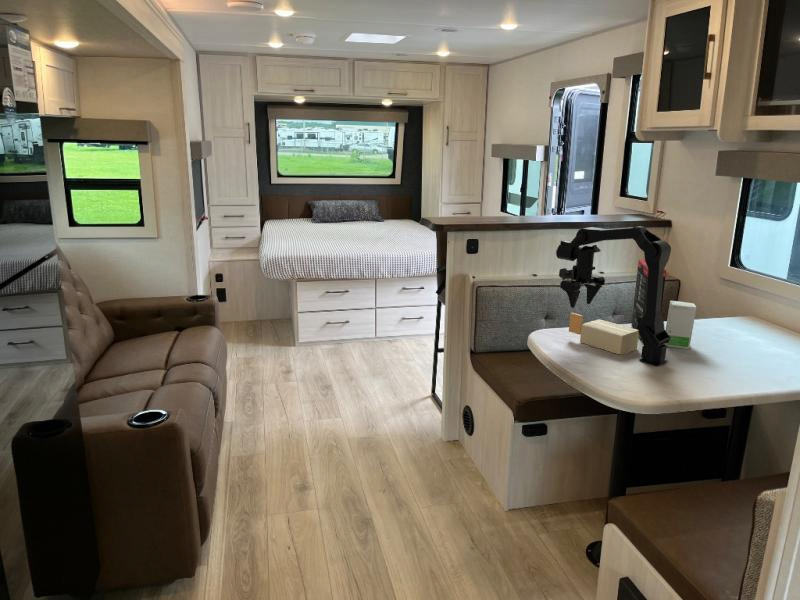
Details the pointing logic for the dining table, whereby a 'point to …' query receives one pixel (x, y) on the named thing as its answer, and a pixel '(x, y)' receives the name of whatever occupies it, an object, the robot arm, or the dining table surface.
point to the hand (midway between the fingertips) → (580, 305)
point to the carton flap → (595, 335)
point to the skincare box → (680, 324)
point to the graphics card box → (642, 292)
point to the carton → (619, 333)
